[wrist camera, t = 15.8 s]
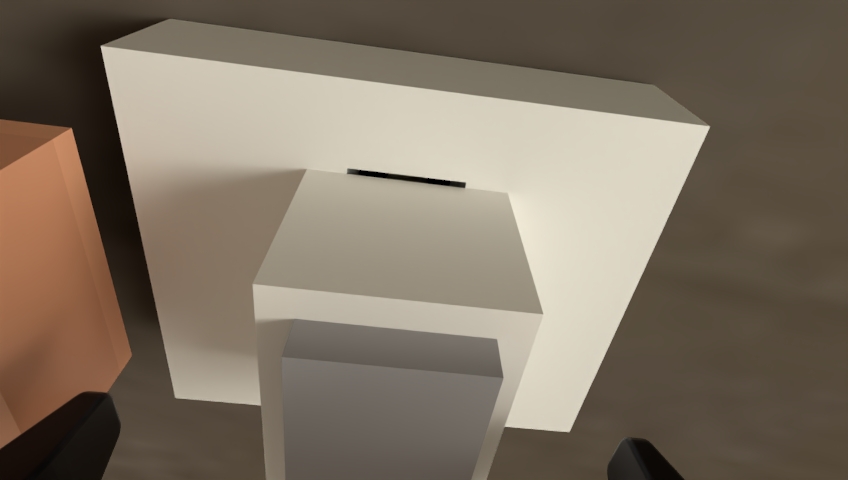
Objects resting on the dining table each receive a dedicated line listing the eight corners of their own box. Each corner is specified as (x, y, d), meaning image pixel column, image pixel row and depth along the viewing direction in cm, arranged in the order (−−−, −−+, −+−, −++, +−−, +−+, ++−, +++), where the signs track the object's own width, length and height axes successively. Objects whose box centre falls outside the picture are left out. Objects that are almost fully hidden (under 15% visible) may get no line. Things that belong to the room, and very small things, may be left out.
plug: (460, 329, 16) (479, 560, 10) (315, 315, 16) (252, 544, 10) (500, 157, 13) (561, 353, 7) (318, 134, 12) (227, 320, 7)
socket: (549, 360, 18) (568, 432, 16) (212, 327, 17) (175, 397, 15) (653, 85, 13) (710, 126, 10) (170, 18, 12) (100, 45, 9)
